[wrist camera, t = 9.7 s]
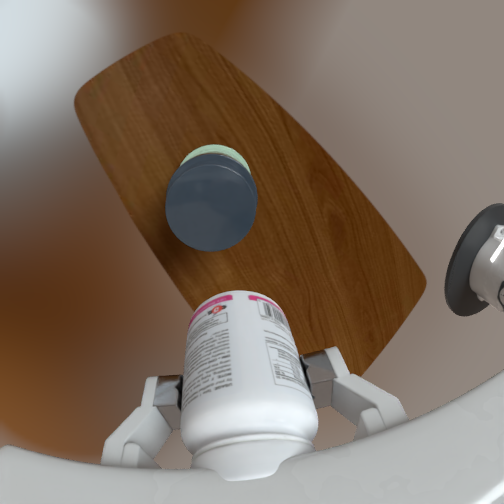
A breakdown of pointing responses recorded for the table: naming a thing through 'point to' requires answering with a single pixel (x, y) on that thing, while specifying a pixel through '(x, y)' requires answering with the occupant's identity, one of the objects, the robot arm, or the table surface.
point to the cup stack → (211, 199)
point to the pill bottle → (244, 388)
